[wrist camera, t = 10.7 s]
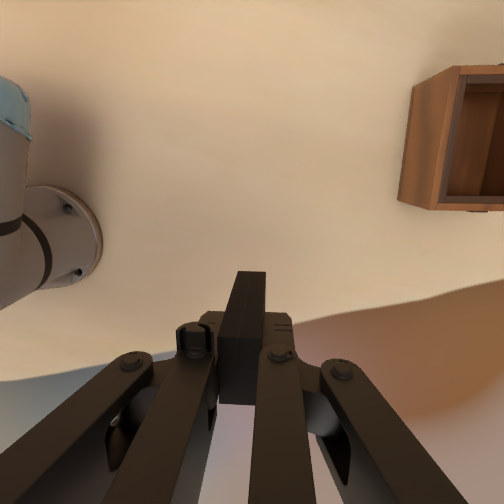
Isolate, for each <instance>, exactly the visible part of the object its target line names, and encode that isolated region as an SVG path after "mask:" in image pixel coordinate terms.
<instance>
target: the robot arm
mask: <svg viewBox="0 0 504 504" xmlns="http://www.w3.org/2000/svg"><path fill="white" fill-rule="evenodd" d="M30 122H31V103H30V100H29V97H28V96H27V94H26V92H25V91H24V90H23V89H22V88H21V87H20V86H19V85H17V84H16V83H14V82H13V81H11V80H9V79H7V78H5V77H3V76H1V75H0V310H2V309H4V308H5V307H7V306H9V305H11V304H12V303H14V302H16V301H18V300H19V299H21V298H23V297H25V296H26V295H28V294H30V293H32V292H34V291H35V290H42V289H50V288H58V287H64V286H69V285H72V284H74V283H76V282H78V281H80V280H81V279H83V278H84V277H86V276H87V275H89V274H90V273H91V272H92V271H93V270H94V269H95V267H96V266H97V264H98V262H99V260H100V257H101V253H102V234H101V230H100V227H99V224H98V222H97V220H96V218H95V216H94V214H93V213H92V212H91V210H90V209H89V208H88V206H87V205H86V204H85V203H84V202H83V201H82V200H80V199H79V198H78V197H77V196H75V195H74V194H72V193H70V192H69V191H67V190H64V189H62V188H59V187H55V186H50V185H38V186H29V187H25V185H26V175H27V166H28V156H29V147H30V141H32V135H31V134H30ZM265 288H266V272H252V271H238V273H237V276H236V279H235V282H234V285H233V289H232V292H231V295H230V298H229V301H228V304H227V307H226V310H225V312H223V311H207V312H206V313H205V314H203V315H202V316H201V318H200V320H199V322H190V323H186V324H183V325H182V326H180V327H178V329H177V330H176V342H177V353H176V355H175V357H174V358H172V359H168V360H163V361H157V362H153V360H152V356H151V355H150V354H148V353H146V352H141V351H134V352H129V353H126V354H123V355H121V356H119V357H118V358H116V359H115V360H114V361H112V362H111V363H110V364H109V365H108V366H106V367H105V368H104V369H103V370H102V371H100V372H99V373H98V374H97V375H95V376H94V377H93V378H92V379H91V380H89V381H88V382H87V383H86V384H85V385H84V386H82V387H81V388H80V389H79V390H77V391H76V392H75V393H74V394H73V395H71V396H70V397H69V398H68V399H67V400H65V401H64V402H63V403H62V404H60V405H59V406H58V407H57V408H56V409H55V410H53V411H52V412H51V413H50V414H48V415H47V416H46V417H45V418H44V419H42V420H41V421H40V422H39V423H38V424H36V425H35V426H34V427H33V428H32V429H30V430H29V431H28V432H27V433H26V434H24V435H23V436H22V437H21V438H20V439H18V440H17V441H16V442H15V443H13V444H12V445H11V446H10V447H9V448H7V449H6V450H5V451H4V452H3V453H1V454H0V504H198V499H199V495H200V491H201V486H202V481H203V476H204V472H205V467H206V463H207V458H208V454H209V449H210V445H211V440H212V435H213V431H214V426H215V422H216V416H217V404H216V403H217V399H218V395H219V404H236V405H255V418H254V430H253V446H252V457H251V470H250V483H249V497H248V504H316V497H315V488H314V481H313V472H312V464H311V456H310V448H309V440H308V432H310V433H313V434H315V435H316V440H317V443H318V445H319V447H320V450H321V452H322V454H323V457H324V459H325V461H326V464H327V466H328V468H329V470H330V473H331V475H332V477H333V480H334V482H335V484H336V487H337V489H338V491H339V493H340V496H341V498H342V501H343V503H344V504H468V503H467V501H466V500H465V499H464V498H463V496H462V495H461V494H460V493H459V491H458V490H457V489H456V487H455V486H454V485H453V484H452V482H451V481H450V480H449V479H448V477H447V476H446V475H445V474H444V472H443V471H442V470H441V469H440V467H439V466H438V465H437V464H436V462H435V461H434V460H433V459H432V457H431V456H430V455H429V454H428V452H427V451H426V450H425V449H424V447H423V446H422V445H421V444H420V442H419V441H418V440H417V439H416V437H415V436H414V435H413V433H412V432H411V431H410V430H409V429H408V427H407V426H406V425H405V423H404V422H403V421H402V420H401V418H400V417H399V416H398V415H397V413H396V412H395V411H394V410H393V408H392V407H391V406H390V405H389V403H388V402H387V401H386V400H385V399H384V397H383V396H382V395H381V393H380V392H379V391H378V390H377V388H376V387H375V386H374V385H373V383H372V382H371V381H370V380H369V378H368V377H367V376H366V375H365V373H364V372H363V371H362V370H361V368H359V367H358V366H357V365H356V364H354V363H352V362H350V361H348V360H343V359H330V360H326V361H325V362H324V363H323V364H322V365H321V368H320V367H316V366H312V365H309V364H307V363H305V362H303V361H302V360H301V359H299V358H298V355H297V353H296V351H295V346H294V338H293V329H292V320H291V318H290V317H289V316H288V314H287V313H277V312H265ZM116 416H117V418H116V419H115V420H114V421H113V422H112V420H113V419H114V418H115V417H116ZM111 422H112V423H111ZM110 423H111V424H110Z"/></svg>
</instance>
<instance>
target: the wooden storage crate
mask: <svg viewBox="0 0 504 504" xmlns="http://www.w3.org/2000/svg"><path fill="white" fill-rule="evenodd" d="M397 200H398V201H401V202H404V203H408V204H411V205H414V206H417V207H421V208H424V209H427V210H456V211H468V212H488V211H504V64H499V65H473V66H452V67H450V68H448V69H446V70H444V71H442V72H440V73H439V74H437V75H435V76H433V77H431V78H429V79H427V80H425V81H424V82H422V83H420V84H418V85H416V86H414V87H413V88H412V96H411V103H410V110H409V118H408V125H407V133H406V140H405V147H404V155H403V162H402V170H401V177H400V184H399V192H398V199H397Z"/></svg>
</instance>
